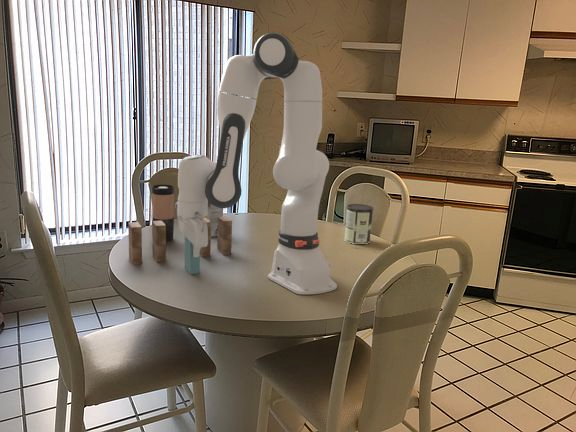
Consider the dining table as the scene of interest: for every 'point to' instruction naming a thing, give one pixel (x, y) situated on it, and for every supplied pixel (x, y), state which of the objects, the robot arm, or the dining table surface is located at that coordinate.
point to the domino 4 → (224, 235)
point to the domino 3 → (206, 250)
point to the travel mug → (164, 207)
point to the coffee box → (214, 218)
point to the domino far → (135, 242)
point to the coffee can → (358, 224)
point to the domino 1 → (159, 240)
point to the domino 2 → (191, 259)
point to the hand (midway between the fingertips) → (192, 252)
